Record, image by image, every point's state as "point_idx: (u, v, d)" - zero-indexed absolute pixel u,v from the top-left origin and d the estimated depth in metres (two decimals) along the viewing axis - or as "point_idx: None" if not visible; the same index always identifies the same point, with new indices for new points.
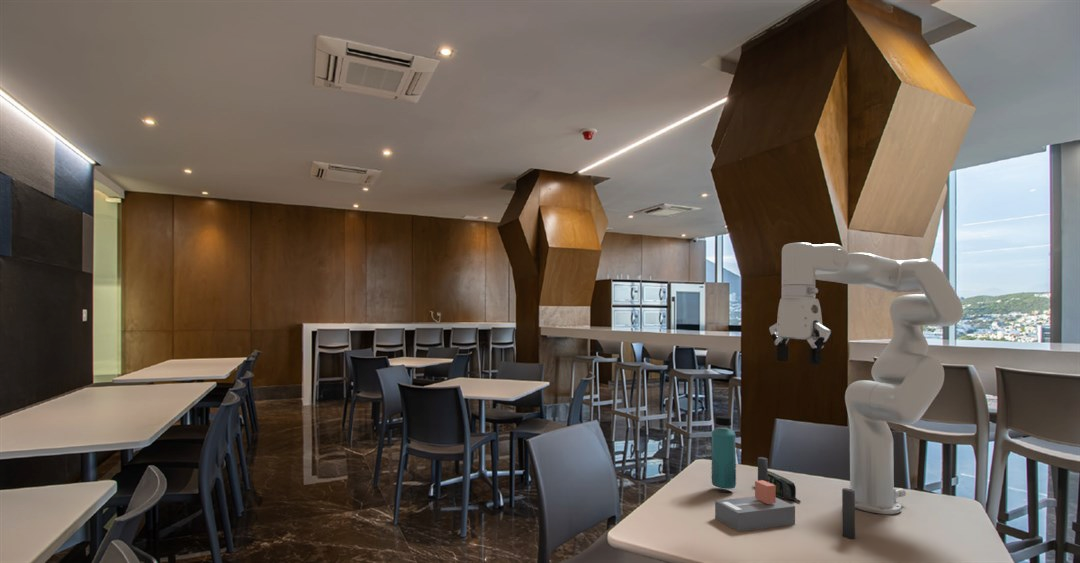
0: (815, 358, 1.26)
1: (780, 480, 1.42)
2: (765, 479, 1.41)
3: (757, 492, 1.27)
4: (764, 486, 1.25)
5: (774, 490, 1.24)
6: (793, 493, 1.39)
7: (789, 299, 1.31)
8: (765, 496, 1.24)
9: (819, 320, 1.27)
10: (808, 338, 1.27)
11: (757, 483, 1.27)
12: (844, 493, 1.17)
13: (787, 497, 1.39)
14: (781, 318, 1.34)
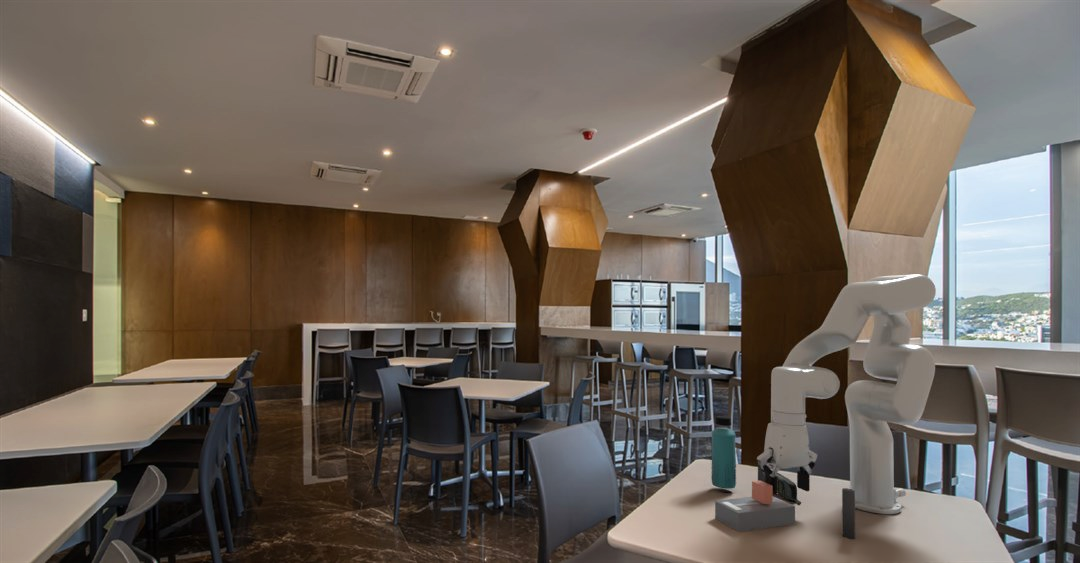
0: None
1: (782, 481, 1.41)
2: None
3: (754, 492, 1.26)
4: (761, 486, 1.24)
5: (771, 490, 1.24)
6: (794, 494, 1.38)
7: (795, 428, 1.27)
8: (762, 496, 1.24)
9: None
10: (806, 465, 1.29)
11: (754, 483, 1.26)
12: (844, 493, 1.17)
13: (788, 498, 1.39)
14: (785, 448, 1.26)
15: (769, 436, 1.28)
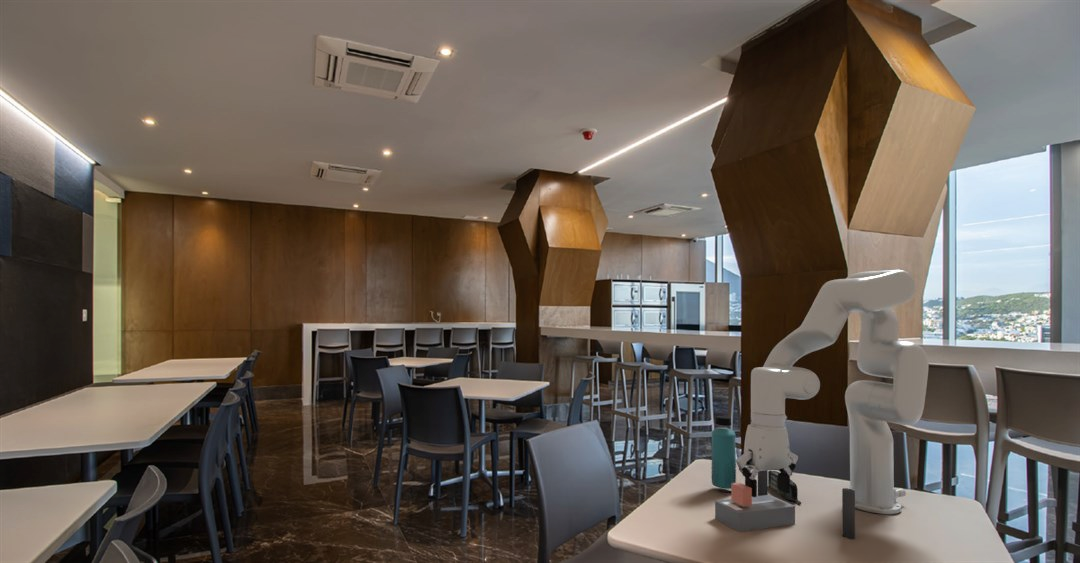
0: None
1: None
2: (765, 479, 1.41)
3: (733, 495, 1.24)
4: (740, 489, 1.22)
5: (750, 493, 1.22)
6: (794, 494, 1.38)
7: (774, 429, 1.25)
8: (741, 498, 1.22)
9: None
10: (786, 467, 1.27)
11: (733, 485, 1.25)
12: (844, 493, 1.17)
13: (788, 498, 1.39)
14: (764, 450, 1.24)
15: (748, 438, 1.26)
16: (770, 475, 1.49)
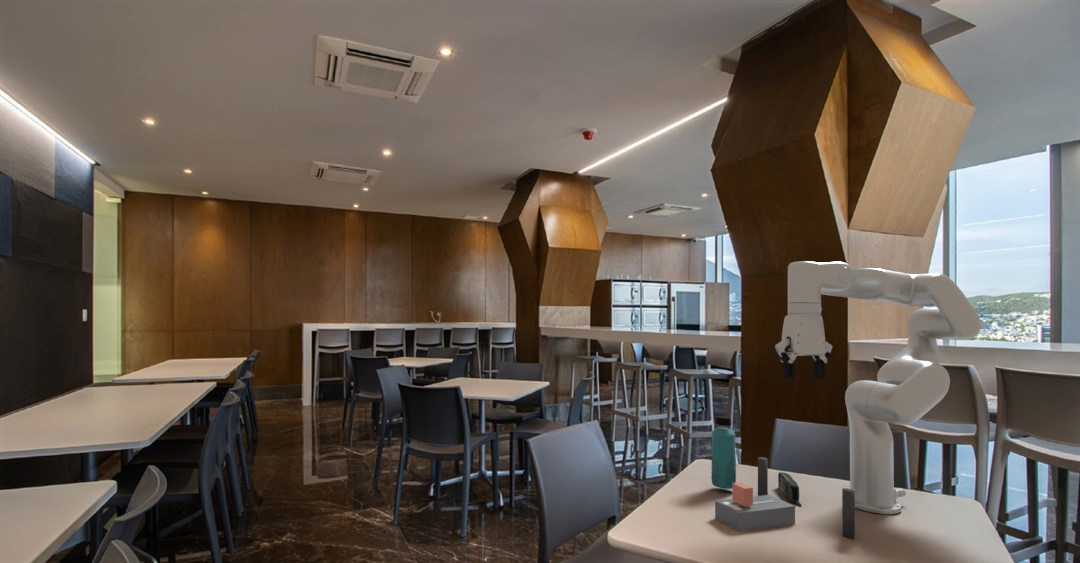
0: None
1: (786, 482, 1.40)
2: (765, 479, 1.41)
3: (734, 494, 1.24)
4: (741, 488, 1.22)
5: (751, 492, 1.22)
6: (795, 496, 1.37)
7: (811, 317, 1.32)
8: (742, 498, 1.22)
9: None
10: (822, 354, 1.34)
11: (734, 485, 1.25)
12: (844, 493, 1.17)
13: (790, 499, 1.38)
14: (802, 336, 1.31)
15: (786, 326, 1.34)
16: (779, 476, 1.48)
